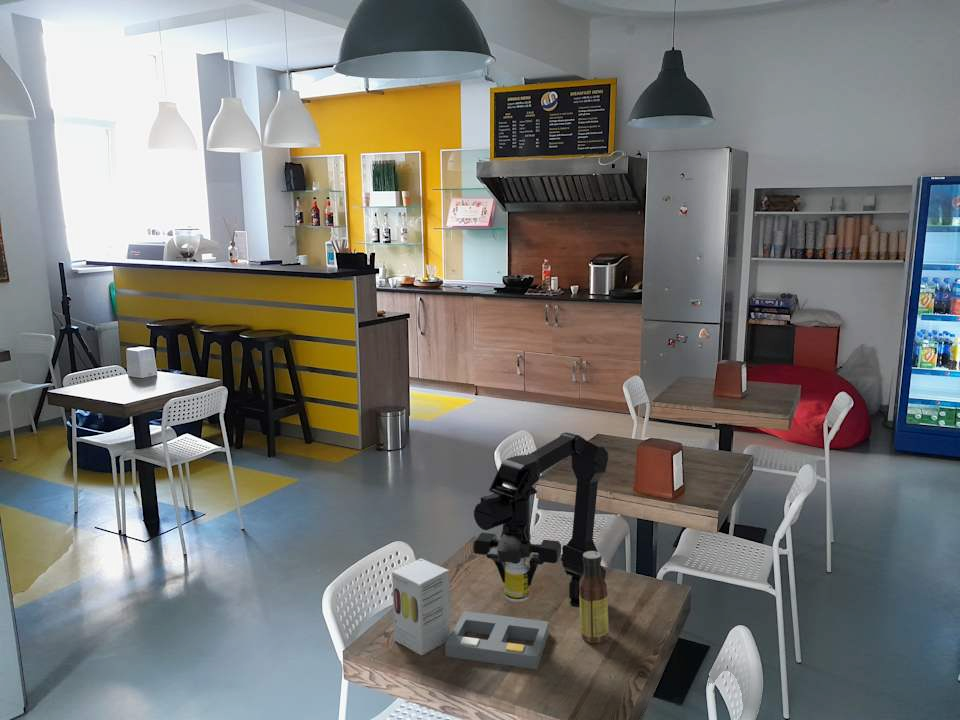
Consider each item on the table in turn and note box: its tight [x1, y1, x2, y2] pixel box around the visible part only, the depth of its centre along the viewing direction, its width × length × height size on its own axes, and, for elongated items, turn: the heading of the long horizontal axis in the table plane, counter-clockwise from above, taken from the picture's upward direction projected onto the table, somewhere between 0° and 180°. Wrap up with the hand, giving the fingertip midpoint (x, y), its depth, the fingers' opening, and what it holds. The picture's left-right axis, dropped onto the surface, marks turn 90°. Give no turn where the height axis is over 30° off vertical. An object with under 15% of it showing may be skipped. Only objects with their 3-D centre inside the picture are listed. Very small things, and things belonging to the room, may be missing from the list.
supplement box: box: [391, 557, 452, 656], centre depth 163 cm, size 10×9×17 cm
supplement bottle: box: [504, 557, 530, 603], centre depth 162 cm, size 5×5×10 cm
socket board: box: [444, 610, 550, 670], centre depth 162 cm, size 20×14×3 cm
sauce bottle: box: [579, 551, 610, 644], centre depth 163 cm, size 6×6×20 cm
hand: (517, 583), depth 162 cm, fingers closed on supplement bottle, 5 cm apart
